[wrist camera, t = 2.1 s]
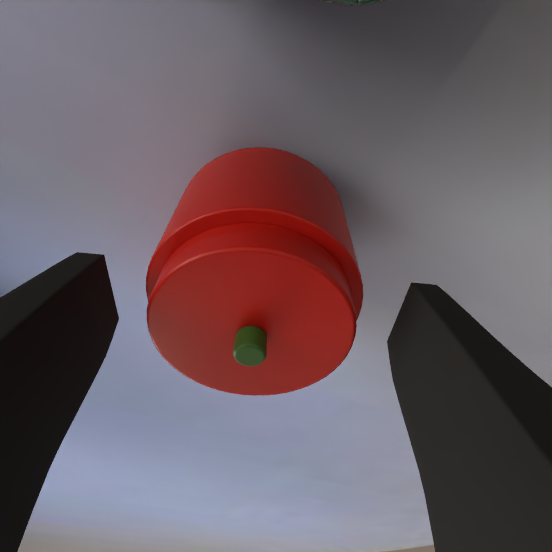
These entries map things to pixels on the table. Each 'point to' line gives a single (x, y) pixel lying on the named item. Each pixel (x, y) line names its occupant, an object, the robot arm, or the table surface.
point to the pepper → (255, 276)
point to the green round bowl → (353, 2)
